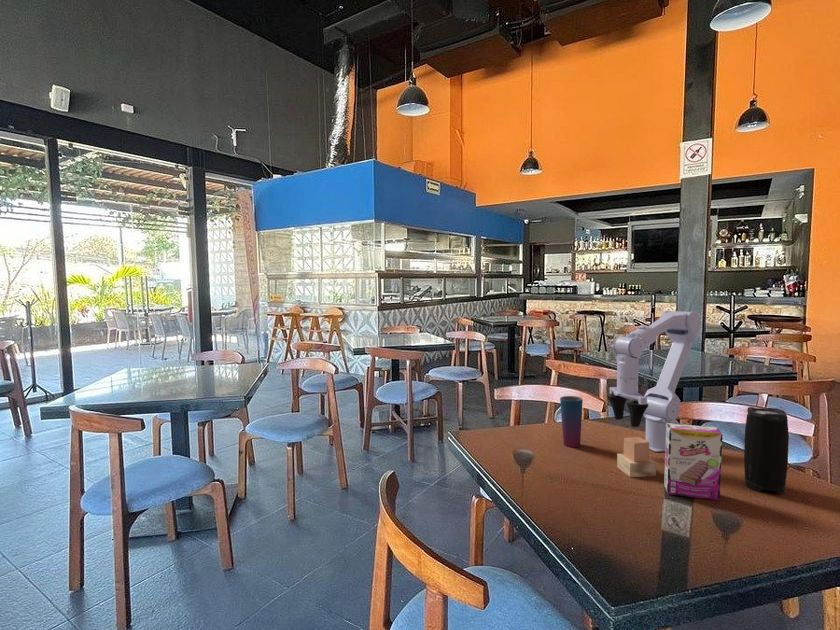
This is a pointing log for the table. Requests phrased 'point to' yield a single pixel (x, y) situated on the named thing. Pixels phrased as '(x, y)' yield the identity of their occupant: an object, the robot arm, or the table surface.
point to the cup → (571, 420)
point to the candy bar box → (693, 461)
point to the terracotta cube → (636, 449)
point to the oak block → (636, 467)
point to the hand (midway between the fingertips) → (626, 422)
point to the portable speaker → (766, 449)
